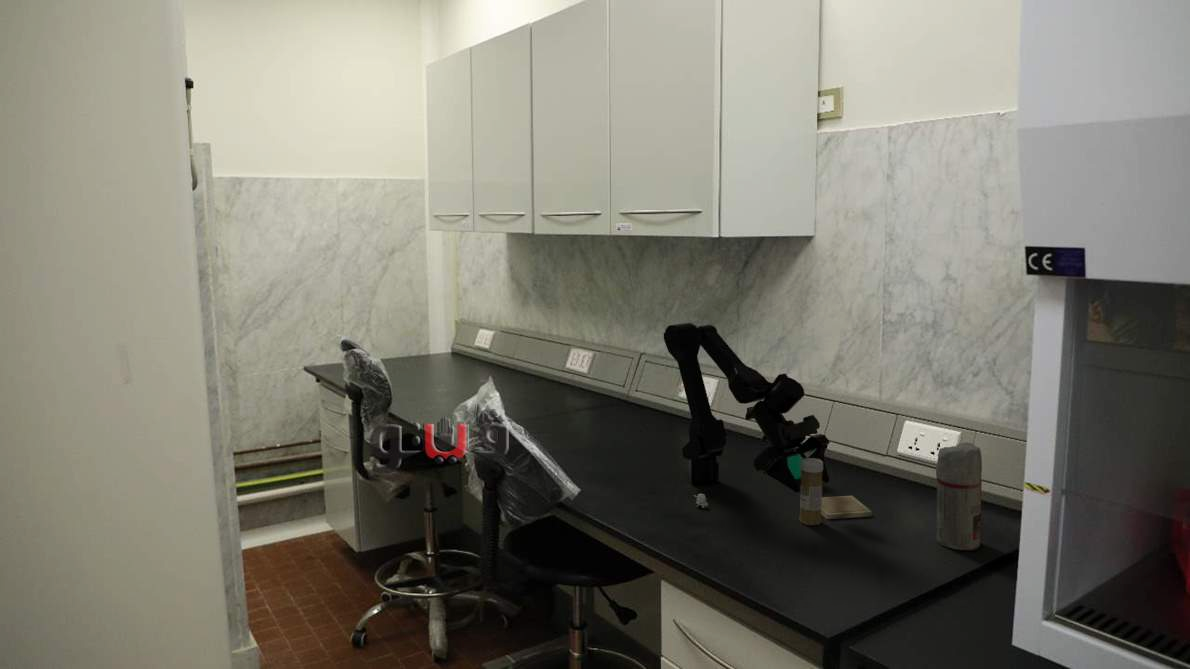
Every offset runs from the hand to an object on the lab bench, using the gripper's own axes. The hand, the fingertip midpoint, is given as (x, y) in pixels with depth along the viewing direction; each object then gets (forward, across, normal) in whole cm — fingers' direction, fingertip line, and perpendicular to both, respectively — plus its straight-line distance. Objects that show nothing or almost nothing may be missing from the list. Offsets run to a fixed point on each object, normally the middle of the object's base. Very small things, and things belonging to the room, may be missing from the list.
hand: (813, 487), depth 168 cm
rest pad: (+4, +11, +7) cm, 13 cm away
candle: (-11, +19, +22) cm, 31 cm away
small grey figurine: (-9, -13, +21) cm, 27 cm away
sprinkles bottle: (+5, 0, +6) cm, 8 cm away
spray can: (+23, +14, -11) cm, 29 cm away
